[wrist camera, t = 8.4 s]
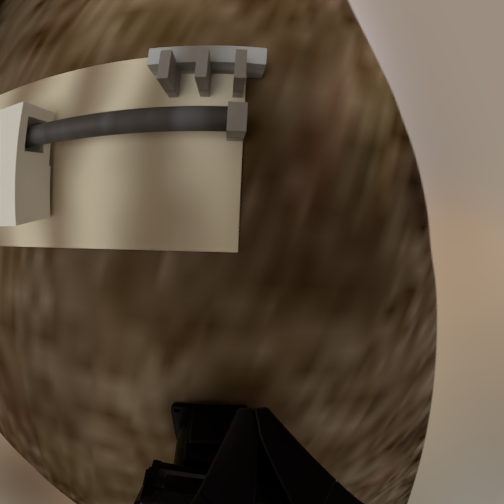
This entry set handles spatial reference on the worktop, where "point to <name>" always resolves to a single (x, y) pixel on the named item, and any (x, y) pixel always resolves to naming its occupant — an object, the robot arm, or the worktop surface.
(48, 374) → the worktop surface
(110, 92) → the cable comb
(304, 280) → the worktop surface
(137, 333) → the worktop surface
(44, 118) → the sleeve
